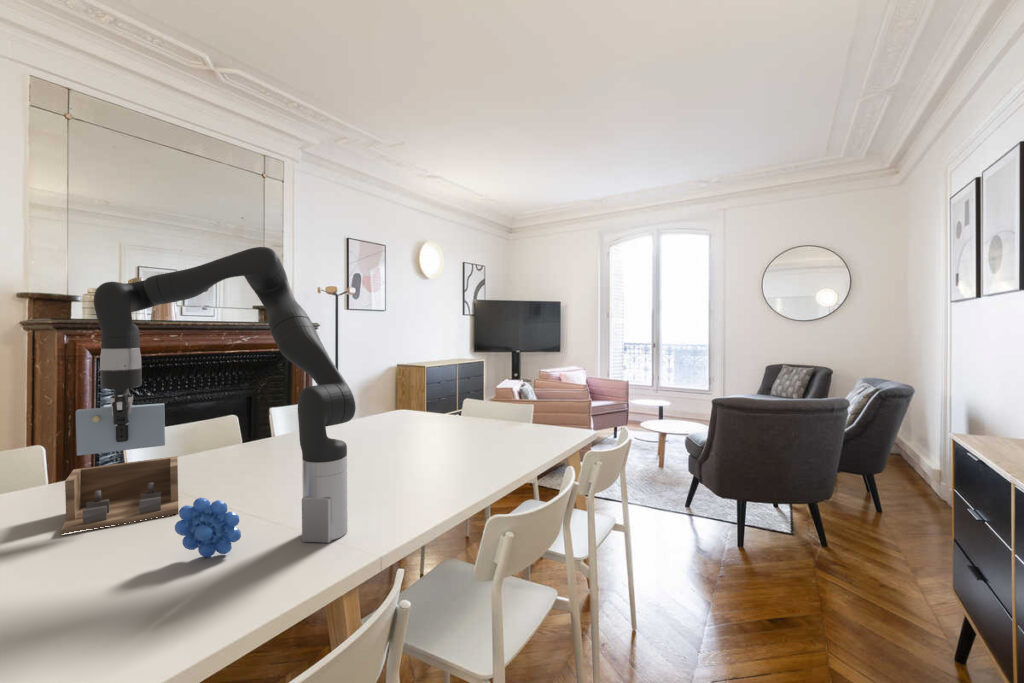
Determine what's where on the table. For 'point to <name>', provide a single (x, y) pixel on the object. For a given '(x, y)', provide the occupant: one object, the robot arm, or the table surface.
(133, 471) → the cabinet
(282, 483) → the table surface
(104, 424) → the door
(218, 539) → the blue flower
